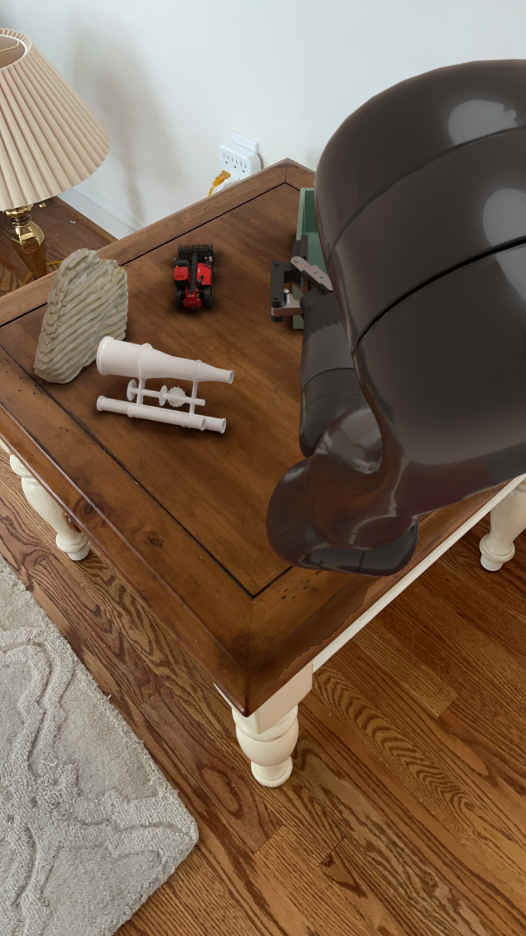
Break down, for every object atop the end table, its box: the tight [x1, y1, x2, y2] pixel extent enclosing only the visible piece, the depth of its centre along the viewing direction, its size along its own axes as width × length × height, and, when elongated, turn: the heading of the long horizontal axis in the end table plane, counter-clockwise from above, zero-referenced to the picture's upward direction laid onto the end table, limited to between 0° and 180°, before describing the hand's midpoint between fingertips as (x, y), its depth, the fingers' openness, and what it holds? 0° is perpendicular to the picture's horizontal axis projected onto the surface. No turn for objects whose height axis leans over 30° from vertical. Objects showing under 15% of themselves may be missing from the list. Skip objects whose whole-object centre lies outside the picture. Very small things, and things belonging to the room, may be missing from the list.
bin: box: [291, 187, 328, 330], centre depth 89 cm, size 11×18×7 cm, turn 175°
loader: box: [172, 241, 216, 310], centre depth 90 cm, size 12×5×5 cm, turn 1°
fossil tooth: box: [33, 247, 130, 384], centre depth 82 cm, size 12×6×15 cm
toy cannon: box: [95, 336, 235, 434], centre depth 78 cm, size 8×14×5 cm
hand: (348, 242), depth 72 cm, fingers open, 8 cm apart
